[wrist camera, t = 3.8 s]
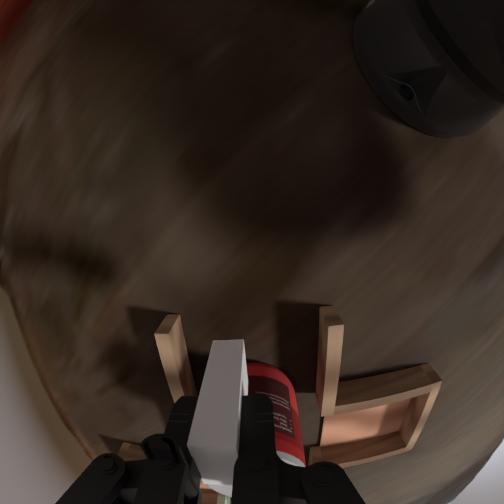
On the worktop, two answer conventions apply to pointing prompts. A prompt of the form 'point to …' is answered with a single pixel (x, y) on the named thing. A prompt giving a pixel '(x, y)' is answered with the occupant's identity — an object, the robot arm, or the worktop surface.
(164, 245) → the worktop surface
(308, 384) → the worktop surface
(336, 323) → the channel
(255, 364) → the canned food
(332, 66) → the worktop surface
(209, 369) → the robot arm
